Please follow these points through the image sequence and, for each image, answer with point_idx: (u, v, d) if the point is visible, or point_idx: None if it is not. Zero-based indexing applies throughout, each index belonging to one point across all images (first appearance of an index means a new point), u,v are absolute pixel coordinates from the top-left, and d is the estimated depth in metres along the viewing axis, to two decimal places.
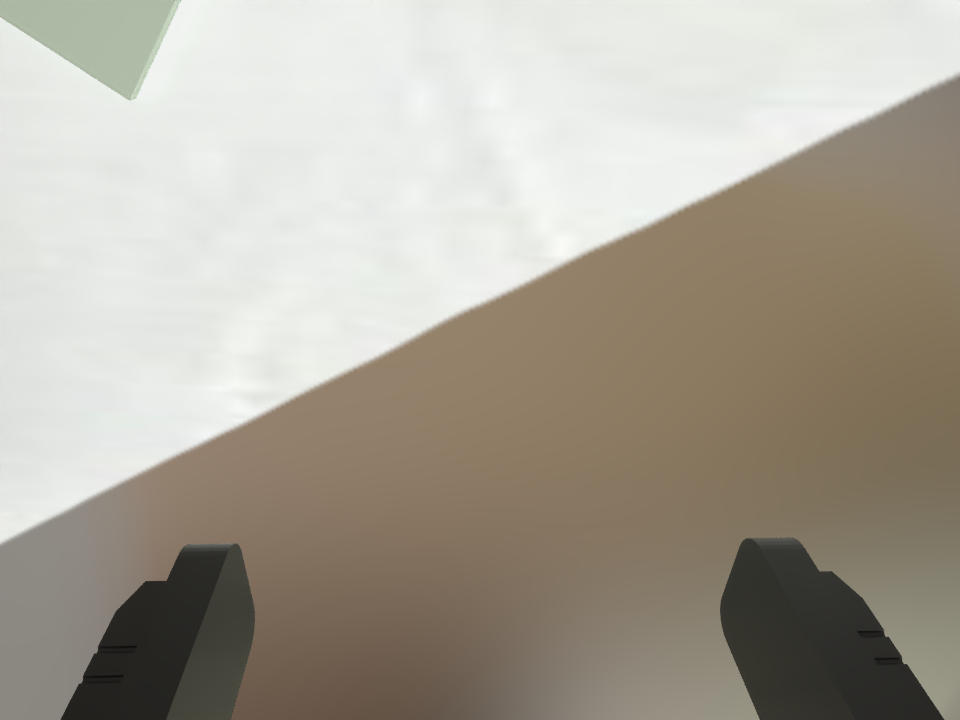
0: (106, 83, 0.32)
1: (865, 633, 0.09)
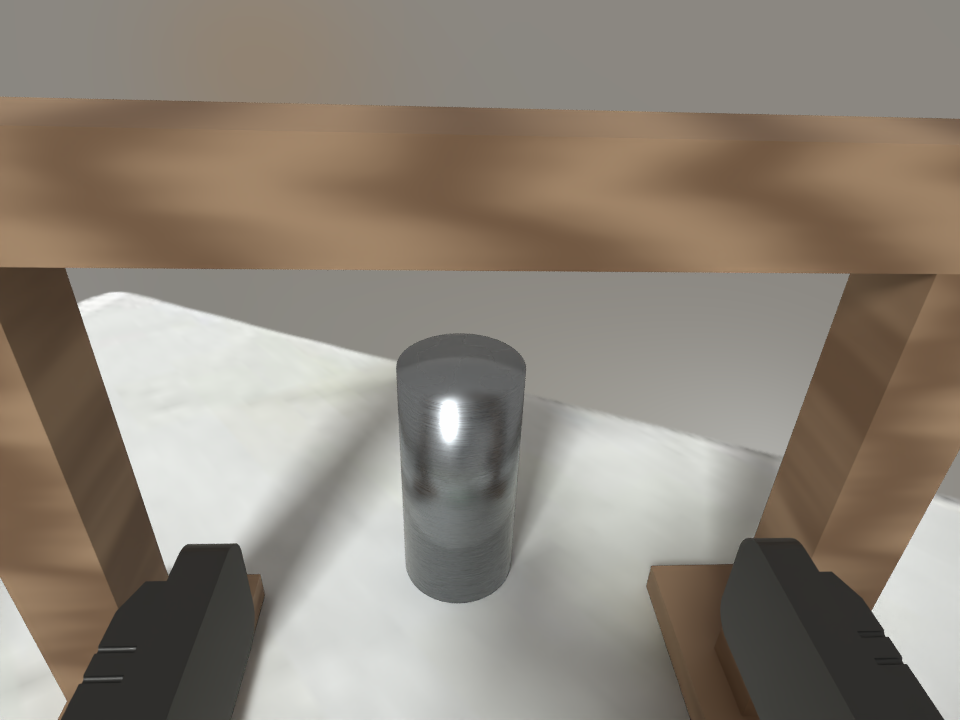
0: None
1: (865, 633, 0.09)
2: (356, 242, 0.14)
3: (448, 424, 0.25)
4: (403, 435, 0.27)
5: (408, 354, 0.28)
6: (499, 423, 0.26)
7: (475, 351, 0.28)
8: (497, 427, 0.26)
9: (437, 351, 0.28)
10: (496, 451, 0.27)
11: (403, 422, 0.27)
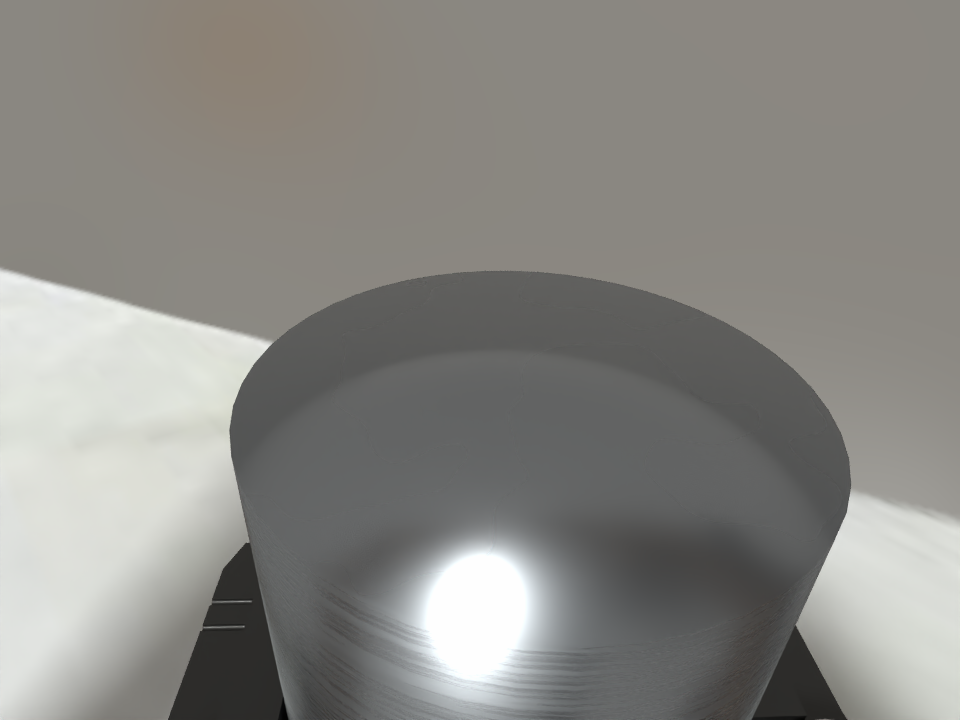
0: None
1: None
2: None
3: None
4: (282, 689, 0.06)
5: (305, 341, 0.07)
6: (753, 690, 0.05)
7: (573, 327, 0.07)
8: (741, 709, 0.05)
9: (428, 328, 0.07)
10: None
11: (274, 648, 0.06)
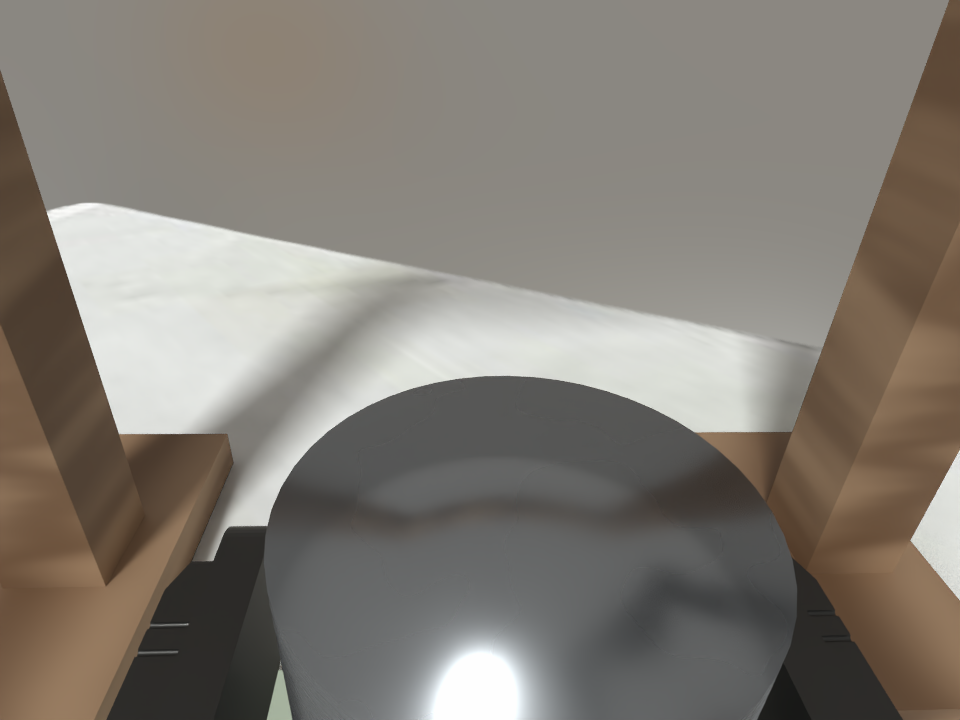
0: None
1: (817, 612, 0.09)
2: None
3: None
4: None
5: (325, 461, 0.08)
6: None
7: (563, 442, 0.08)
8: None
9: (433, 444, 0.08)
10: None
11: None
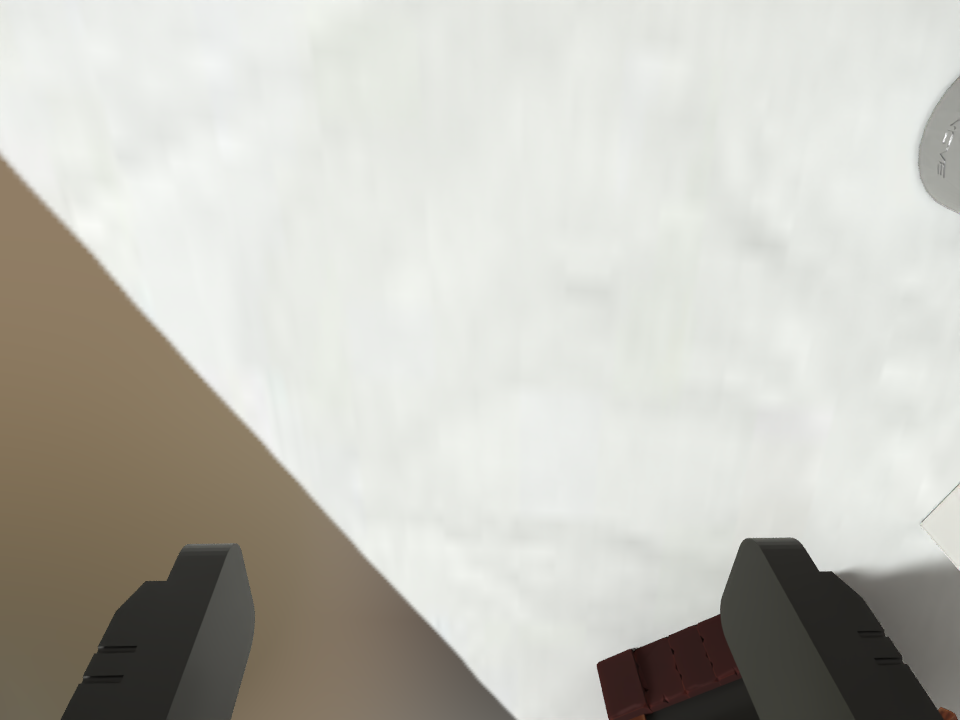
0: None
1: (865, 633, 0.09)
2: None
3: None
4: None
5: None
6: None
7: None
8: None
9: None
10: None
11: None
